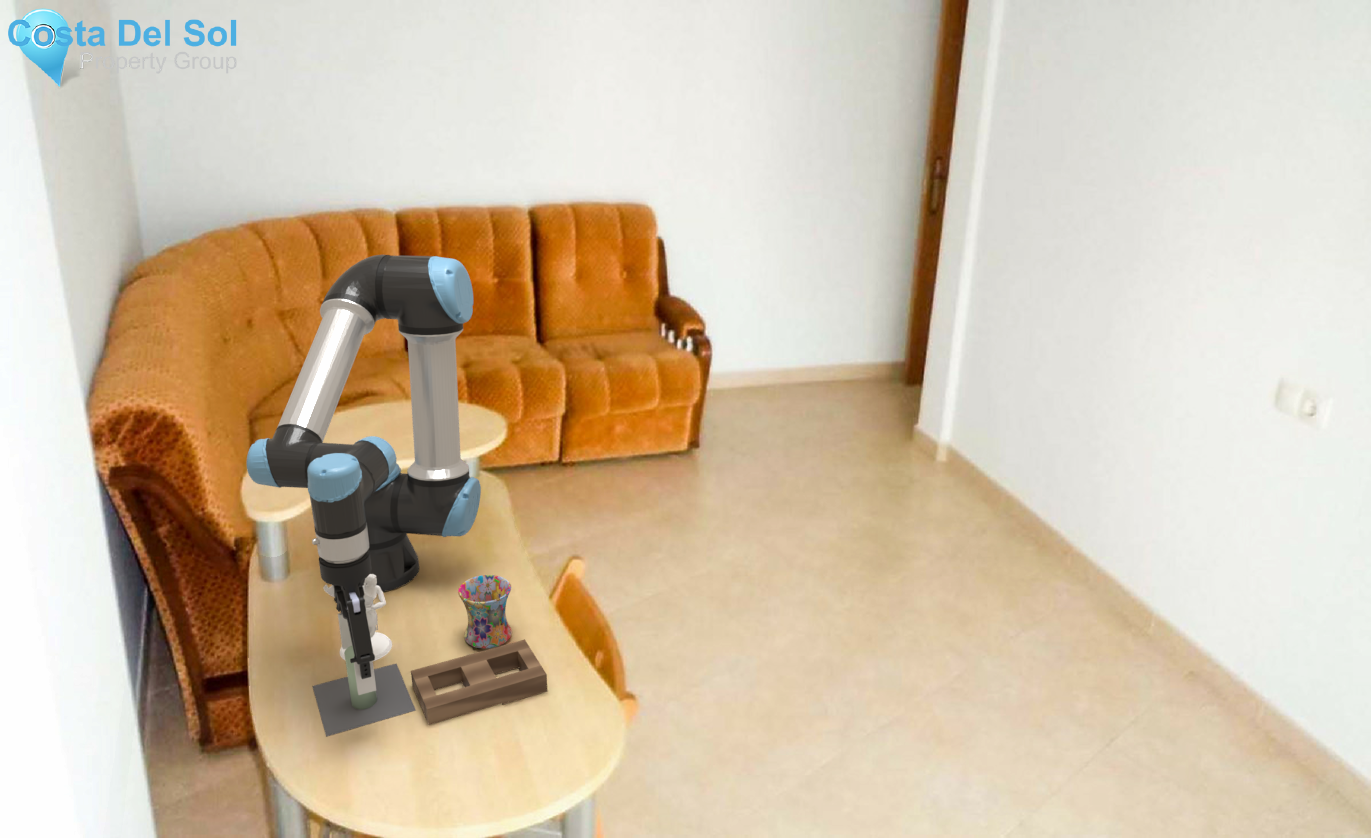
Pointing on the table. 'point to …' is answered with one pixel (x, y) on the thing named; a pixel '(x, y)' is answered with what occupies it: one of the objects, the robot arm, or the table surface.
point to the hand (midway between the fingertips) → (358, 668)
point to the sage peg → (356, 700)
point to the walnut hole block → (478, 681)
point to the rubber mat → (345, 717)
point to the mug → (486, 610)
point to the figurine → (371, 616)
